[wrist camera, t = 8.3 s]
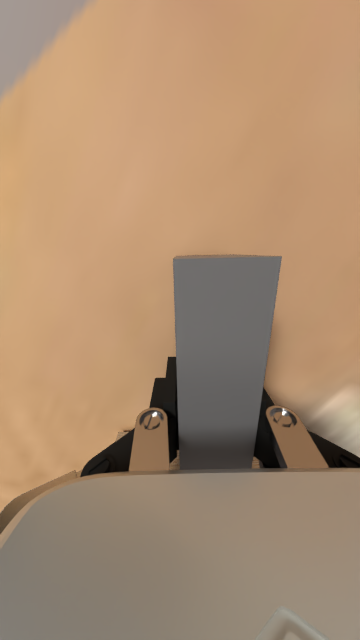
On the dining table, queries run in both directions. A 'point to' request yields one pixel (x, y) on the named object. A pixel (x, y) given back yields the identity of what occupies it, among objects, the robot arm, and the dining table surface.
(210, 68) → the dining table surface
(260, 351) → the grey t-shaped block
